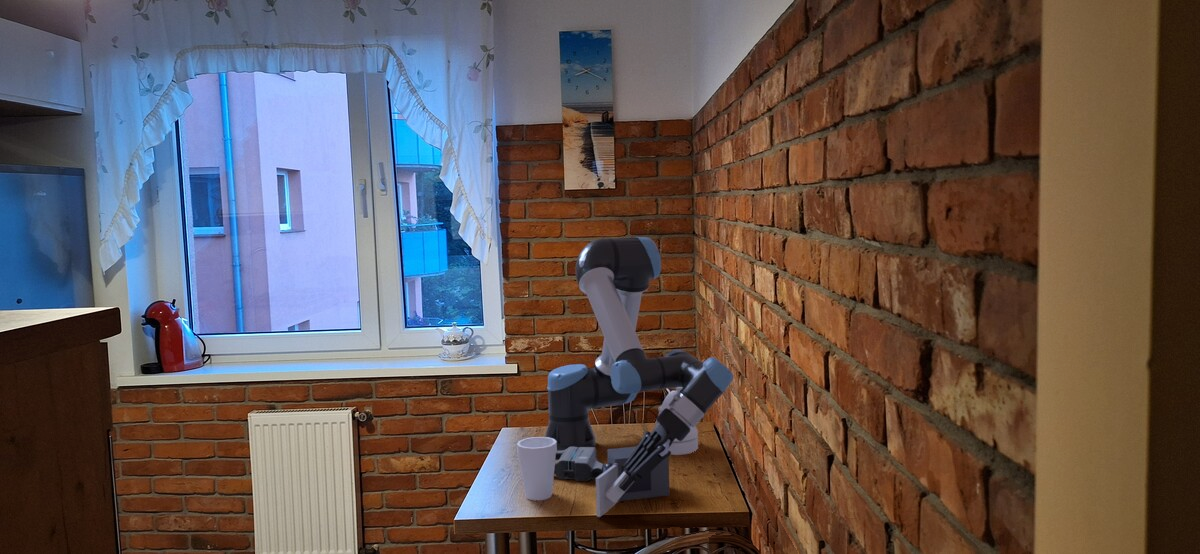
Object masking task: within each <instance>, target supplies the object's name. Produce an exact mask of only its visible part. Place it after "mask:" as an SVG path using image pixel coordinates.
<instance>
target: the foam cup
mask: <svg viewBox="0 0 1200 554" xmlns="http://www.w3.org/2000/svg"><path fill="white" fill-rule="evenodd" d="M556 452H557V441H556V440H555V439H553V438H549V437H545V436H534V437H532V436H531V437H527V438H524V439H523V438H522V439H521V440H518V441H517V443H516V454H517V455H518V461H519V467H520V473H521V477H522V484H523V490H524V495H525V498H526V499H527V500H530V501H536V500H537V501H544V500H547V499H550V498H552V495H553V487H554V479H555V478H554V477H555V474H554V468H555V462H556V460H555V458H556Z"/></svg>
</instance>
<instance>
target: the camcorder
mask: <svg viewBox="0 0 1200 554" xmlns="http://www.w3.org/2000/svg"><path fill="white" fill-rule="evenodd" d="M604 464H605V463H601V462H600V461H598V452H597V448H596V446H595V447H569V448H567V449H566V450H562V451H557V452H556V458H555V468H554V475H555V476H556V477H557V479H559V480H575V481H576V482H589V481H590V480H591V479H593V481H594V482H596V478H597V477H598V476H599V475H601V474H602V473H603V465H604Z"/></svg>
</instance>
